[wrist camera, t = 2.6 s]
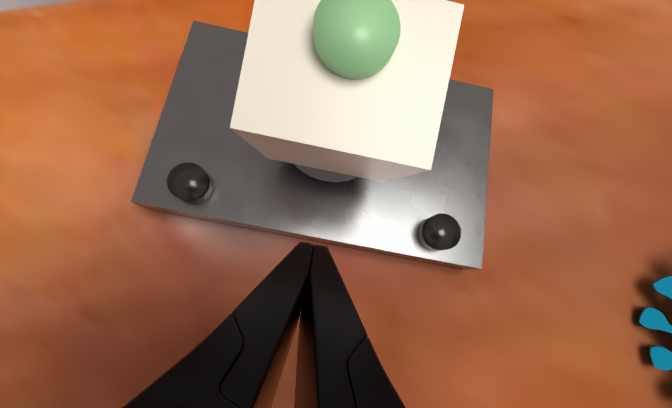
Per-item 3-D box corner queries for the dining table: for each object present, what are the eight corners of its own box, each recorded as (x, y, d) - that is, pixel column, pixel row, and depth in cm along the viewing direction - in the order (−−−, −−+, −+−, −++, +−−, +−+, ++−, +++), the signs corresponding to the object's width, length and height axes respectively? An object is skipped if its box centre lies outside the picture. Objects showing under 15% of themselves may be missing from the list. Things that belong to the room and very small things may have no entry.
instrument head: (376, 191, 17) (435, 185, 9) (269, 169, 17) (219, 141, 8) (410, 22, 17) (503, -151, 9) (303, -3, 17) (289, -211, 8)
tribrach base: (464, 269, 20) (493, 268, 17) (148, 209, 19) (118, 196, 16) (477, 105, 23) (504, 78, 20) (203, 43, 22) (186, 4, 19)
